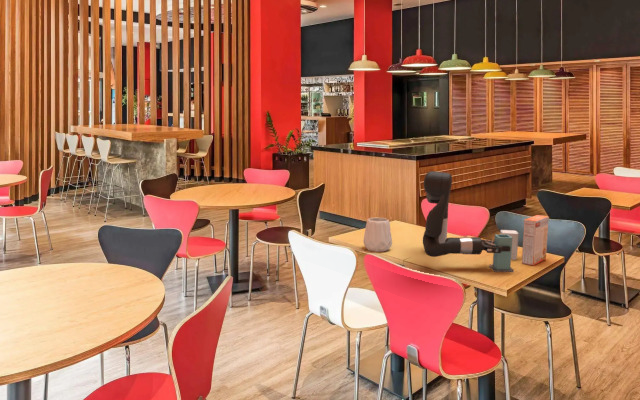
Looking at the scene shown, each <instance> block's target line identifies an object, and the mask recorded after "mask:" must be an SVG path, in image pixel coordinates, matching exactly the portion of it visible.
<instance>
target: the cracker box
mask: <svg viewBox="0 0 640 400" xmlns="http://www.w3.org/2000/svg"><path fill="white" fill-rule="evenodd" d="M549 219H550V218H549V216H548V215H543V214H542V215H541V214H536V215H533V216H531V217H528V218H525V219H524V220H523V232H522V233H523V237H522V238H523V239H522V252H521V253H522V254H521V264H524V265H528V266H533V267H534V266H536V265H538V264H539V263H541V262H543V261H545V260H547V250H548V249H547V245H548V235H549V234H548V233H549V232H548V231H549Z"/></svg>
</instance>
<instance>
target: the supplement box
mask: <svg viewBox="0 0 640 400" xmlns="http://www.w3.org/2000/svg"><path fill="white" fill-rule="evenodd" d="M499 235H509V236H511V237H512V251H511V261H515V260H516V261H517V260H518V259H517V258H518V247H519V235H520V233H519V232H518V231H517V230H511V229H510V230H509V229H500V234H499Z"/></svg>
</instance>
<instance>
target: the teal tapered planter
mask: <svg viewBox="0 0 640 400" xmlns="http://www.w3.org/2000/svg"><path fill="white" fill-rule="evenodd" d="M493 240H494V244H497V245H498V246H510V251H509V252H508V251H501V253H492V254H493V256H492V257H493V258H492V264H493V266H494V267H495V268H496V269H510V267H511V263H512V260H511V251H512V237H511V236H509V235H500V234H494V239H493ZM497 250H498V249H497Z"/></svg>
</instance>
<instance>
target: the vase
mask: <svg viewBox="0 0 640 400" xmlns="http://www.w3.org/2000/svg"><path fill="white" fill-rule="evenodd" d="M364 229H365V230H364V234H363V245H364V248H366V249H367V251H369V252H373V253H374V252H375V253H378V252H379V253H382V252H384V253H385V252H387V251H388V250H390V249H391V247H392V244H393V238H392V237H393V236H392V231H391V230H392V229H391V223H390V220H389V219H388V218H386V217H369V218H367V220H366V224H365V228H364Z"/></svg>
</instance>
